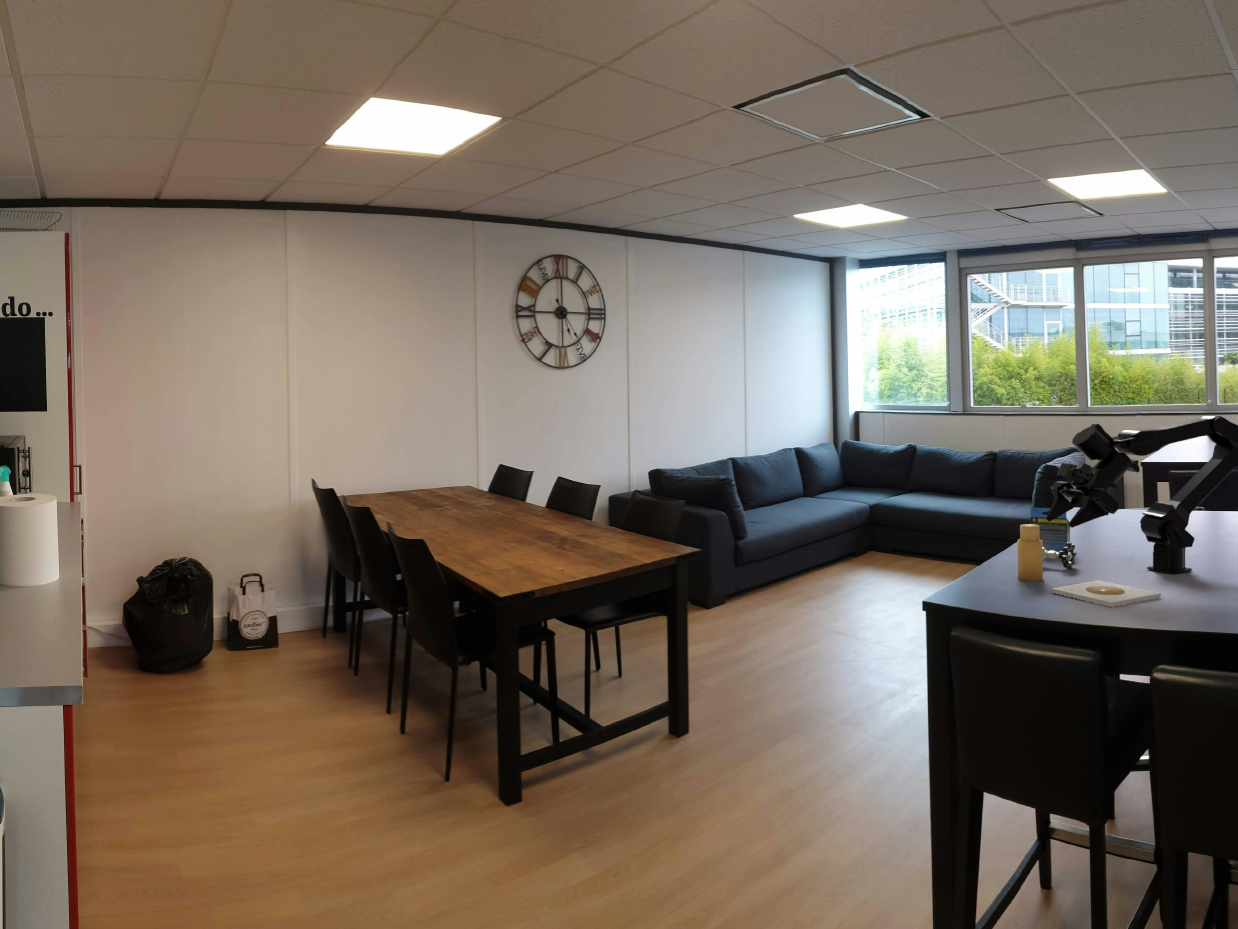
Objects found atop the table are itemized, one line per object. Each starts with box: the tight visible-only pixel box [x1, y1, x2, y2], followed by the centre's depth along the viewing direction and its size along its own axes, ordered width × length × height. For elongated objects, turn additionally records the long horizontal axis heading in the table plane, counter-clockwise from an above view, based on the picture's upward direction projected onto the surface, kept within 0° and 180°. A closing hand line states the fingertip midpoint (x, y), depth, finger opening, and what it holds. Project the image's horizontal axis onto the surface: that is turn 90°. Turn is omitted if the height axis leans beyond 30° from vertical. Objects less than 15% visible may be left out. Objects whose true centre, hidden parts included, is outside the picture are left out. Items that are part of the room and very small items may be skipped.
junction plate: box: [1051, 579, 1162, 608], centre depth 169 cm, size 14×14×1 cm
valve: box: [1043, 542, 1077, 570], centre depth 198 cm, size 7×7×12 cm
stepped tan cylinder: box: [1016, 523, 1044, 582], centre depth 186 cm, size 5×5×12 cm
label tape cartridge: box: [1029, 506, 1071, 553], centre depth 213 cm, size 9×4×12 cm, turn 48°
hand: (1058, 523), depth 186 cm, fingers open, 9 cm apart
